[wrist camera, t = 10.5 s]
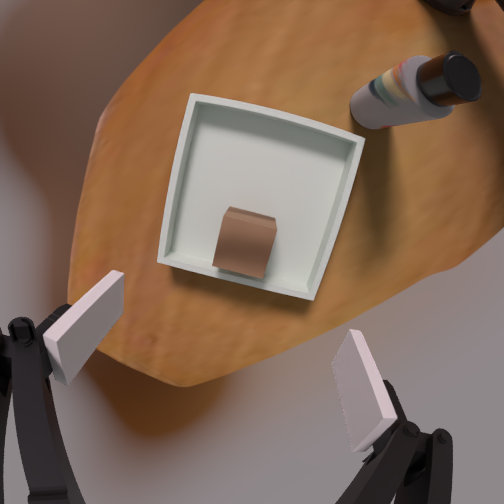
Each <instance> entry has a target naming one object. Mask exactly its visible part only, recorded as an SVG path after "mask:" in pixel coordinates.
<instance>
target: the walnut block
mask: <svg viewBox="0 0 504 504" xmlns="http://www.w3.org/2000/svg"><path fill="white" fill-rule="evenodd" d="M276 233H277V225H276V220H275V218H274V217H270V216H266V215H262V214H258V213H255V212H251V211H247V210H243V209H239V208H235V207H231V206H230V207H229V208H228V209H227V211H226V212H225V214H224V215H223V219H222V223H221V228H220V232H219V236H218V241H217V245H216V250H215V254H214V259H213V263H212V266H214V267H218V268H222V269H226V270H230V271H234V272H238V273H241V274H245V275H249V276H253V277H257V278H261V279H263V277H264V273H265V270H266V267H267V263H268V260H269V257H270V253H271V250H272V246H273V243H274V240H275V236H276Z"/></svg>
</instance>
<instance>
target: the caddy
mask: <svg viewBox="0 0 504 504" xmlns="http://www.w3.org/2000/svg"><path fill="white" fill-rule="evenodd" d="M364 142H365V138H363V137H360V136H358V135H355V134H352V133H350V132H347V131H344V130H341V129H338V128H335V127H333V126H330V125H327V124H323V123H320V122H317V121H314V120H311V119H308V118H304V117H301V116H297V115H294V114H290V113H287V112H283V111H279V110H275V109H271V108H267V107H263V106H259V105H254V104H250V103H245V102H240V101H235V100H230V99H225V98H219V97H213V96H207V95H201V94H194V93H191V94H190V97H189V101H188V104H187V108H186V112H185V116H184V120H183V124H182V128H181V132H180V136H179V140H178V145H177V149H176V154H175V158H174V163H173V168H172V172H171V177H170V183H169V188H168V193H167V199H166V205H165V210H164V217H163V223H162V229H161V236H160V243H159V251H158V258H157V262H159V263H162V264H166V265H170V266H173V267H177V268H181V269H185V270H188V271H192V272H196V273H200V274H204V275H208V276H211V277H215V278H219V279H223V280H227V281H231V282H235V283H239V284H244V285H248V286H252V287H256V288H260V289H264V290H269V291H273V292H277V293H281V294H286V295H290V296H295V297H299V298H303V299H308V300H312V301H313V300H314V298H315V295H316V293H317V290H318V287H319V285H320V282H321V279H322V277H323V274H324V271H325V268H326V265H327V263H328V260H329V257H330V254H331V251H332V248H333V246H334V243H335V240H336V237H337V234H338V231H339V228H340V225H341V221H342V218H343V215H344V212H345V209H346V206H347V202H348V199H349V196H350V192H351V189H352V186H353V182H354V179H355V175H356V172H357V168H358V165H359V161H360V157H361V153H362V150H363V146H364ZM230 206H231V207H235V208H239V209H243V210H247V211H251V212H255V213H258V214H262V215H266V216H270V217H274V218H275V220H276V225H277V233H276V236H275V240H274V243H273V246H272V250H271V253H270V257H269V260H268V263H267V267H266V270H265V273H264V277H263V279H261V278H257V277H253V276H249V275H245V274H241V273H238V272H234V271H230V270H226V269H222V268H218V267H214V266H212V263H213V259H214V254H215V250H216V245H217V241H218V236H219V232H220V228H221V223H222V219H223V215H224V214H225V212H226V211H227V209H228V208H229V207H230Z"/></svg>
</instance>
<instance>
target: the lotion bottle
mask: <svg viewBox="0 0 504 504" xmlns="http://www.w3.org/2000/svg"><path fill="white" fill-rule="evenodd" d="M481 93H482V88H481V78H480V75H479V72H478V70H477V68H476V67H475V65H474V64H473V63H472V62H471V61H470V60H469V59H468V58H466V57H465V56H463V55H462V54H461V53H459V52H457V51H450V52H447V53H445V54H443V55H440V56H438V57H436V58H433V59H432V58H430V57H427V56H421V55H419V56H413V57H411V58H409V59H407V60H405V61H403V62H402V63H400V64H398V65H397V66H395V67H393V68H392V69H390V70H388V71H387V72H385V73H384V74H382V75H380V76H379V77H377V78H376V79H374V80H373V81H371V82H369V83H368V84H366V85H365V86H363V87H362V88H360V89H359V90H358V91H356V92H355V93H354V95H353V96H352V98H351V101H350V109H351V113H352V115H353V117H354V119H355V120H356V121H357V122H358V123H359V124H360V125H361V126H363V127H365V128H368V129H381V128H387V127H392V126H398V125H403V124H409V123H415V122H422V121H428V120H435V119H440V118H444V117H446V116H448V115H449V114H450V113H451V112H452V111H453V109H454V106H455V105H458V104H463V103H468V102H473V101H476V100H478V99H479V98H480V96H481Z"/></svg>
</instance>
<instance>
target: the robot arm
mask: <svg viewBox="0 0 504 504" xmlns="http://www.w3.org/2000/svg"><path fill="white" fill-rule="evenodd" d="M424 1H426V2H427V3H428V4H430V5H431V6H433V7H435V8H436V9H438V10H440V11H442V12H444V13H447V14H450V15H456V16H458V15H462V14H464V13H466V12H468V11H469V10H470V9H471V8H472V6H473V5H474V3H475V1H476V0H424ZM495 1H496V2H497V3H498V5H499V6H500V7H501V9H502V10H503V12H504V0H495ZM123 298H124V273H121V272H118V271H115V270H112V271H111V272H110V273H109V274H108V275H106V276H105V277H104V278H103V279H102V280H101V281H100V282H98V283H97V284H96V285H95V286H94V287H93V288H92V289H91V290H89V291H88V292H87V293H86V294H85V295H84V296H83V297H82V298H81V299H79V300H78V301H77V302H76V303H75V304H74V305H73V306H72V305H69V304H65V305H62V306H60V307H58V308H57V309H56V310H55V311H54V312H53V314H51V315H49V316H48V318H46V319H45V320H44V321H43V322H42V323H41V324H40V325H39V326H38V327H37V328H36V329H35V327H34V323H33V321H32V320H31V319H29V318H27V317H18V318H15V319H13V320H12V321H11V322H10V323H9V325H8V330H9V333H10V336H6V335H3V334H2V331H1V328H0V504H4V489H3V463H4V445H5V434H6V425H7V418H8V411H9V405H10V399H11V393H13V406H14V416H15V424H16V431H17V438H18V444H19V449H20V454H21V459H22V464H23V467H24V472H25V476H26V480H27V483H28V487H29V490H30V494H29V495H28V504H86V503H85V501H84V499H83V497H82V494H81V492H80V489H79V487H78V484H77V482H76V479H75V477H74V474H73V471H72V468H71V465H70V463H69V460H68V457H67V453H66V450H65V446H64V443H63V440H62V436H61V432H60V428H59V424H58V420H57V416H56V411H55V407H54V401H53V396H52V390H51V385H50V380H49V375H50V374H51V373H52V371H53V374H54V377H55V380H57V381H59V382H61V383H63V384H65V385H67V386H69V384H70V383H71V381H72V380H73V379H74V377H75V376H76V374H77V373H78V372H79V370H80V369H81V368H82V366H83V365H84V363H85V362H86V361H87V359H88V358H89V357H90V355H91V354H92V353H93V351H94V350H95V349H96V347H97V346H98V345H99V343H100V342H101V341H102V340H103V338H104V337H105V336H106V334H107V333H108V332H109V331H110V329H111V328H112V327H113V325H114V324H115V323H116V322H117V320H118V319H119V318H120V317H121V315H122V314H123ZM331 364H332V368H333V372H334V376H335V380H336V384H337V388H338V392H339V396H340V400H341V404H342V409H343V413H344V417H345V422H346V426H347V431H348V435H349V440H350V444H351V449H352V452H361V451H366V450H367V449H369V447H371V446H372V445H373V448H374V451H373V452H372V453H371V454H370V455H369V456H368V457H367V458H365V460H363V461H362V462H365V461H366V462H365V463H364V465H363V466H362V468H361V469H360V471H359V472H358V474H357V475H356V477H355V478H354V480H353V481H352V482H351V484H350V485H349V486H348V488H347V489H346V490H345V492H344V493H343V494H342V496H341V497H340V498H339V499H338V501H337V502H336V503H335V504H390V503H391V501H392V499H393V497H394V496H395V494H396V496H395V500H394V504H450V503H451V491H452V473H453V443H452V442H453V441H452V437H451V435H450V434H449V432H447V431H446V430H444V429H440V428H439V429H436V430H435V431H434V432H433V433H432V434H427V433H423V432H420V429H419V428H418V426H417V425H416V424H414V423H413V422H410V421H407V419H406V416H405V414H404V411H403V409H402V407H401V404H400V402H399V399H398V397H397V396H396V392H395V390H394V388H393V386H392V385H391V384H390V383H389V382H388V381H387V380H382V378H381V376H380V373H379V371H378V369H377V366H376V364H375V362H374V360H373V357H372V355H371V353H370V350H369V348H368V346H367V344H366V341H365V339H364V337H363V335H362V333H361V331H358V330H353V329H349V331H348V333H347V335H346V337H345V339H344V341H343V343H342V345H341V347H340V348H339V350H338V352H337V354H336V356H335V358H334V360H333V362H332V363H331Z"/></svg>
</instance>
